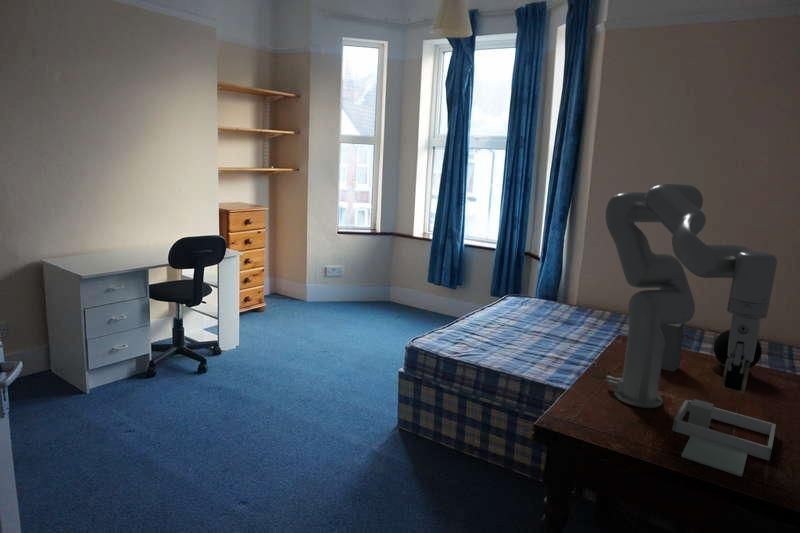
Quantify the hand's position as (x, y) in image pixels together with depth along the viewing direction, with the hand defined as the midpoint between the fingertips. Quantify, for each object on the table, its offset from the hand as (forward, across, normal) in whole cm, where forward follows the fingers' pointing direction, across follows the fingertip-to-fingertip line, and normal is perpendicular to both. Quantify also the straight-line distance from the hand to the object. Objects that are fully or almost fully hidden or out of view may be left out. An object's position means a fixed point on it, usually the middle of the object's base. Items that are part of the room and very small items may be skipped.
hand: (733, 384), depth 124 cm
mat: (+17, -2, +1) cm, 18 cm away
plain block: (+17, +12, +6) cm, 22 cm away
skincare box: (+17, +51, +21) cm, 58 cm away
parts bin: (+17, +12, +1) cm, 21 cm away
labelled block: (+1, 0, 0) cm, 1 cm away
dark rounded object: (+17, +60, +2) cm, 63 cm away
